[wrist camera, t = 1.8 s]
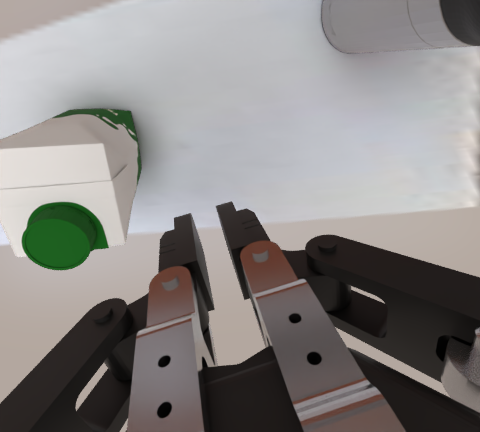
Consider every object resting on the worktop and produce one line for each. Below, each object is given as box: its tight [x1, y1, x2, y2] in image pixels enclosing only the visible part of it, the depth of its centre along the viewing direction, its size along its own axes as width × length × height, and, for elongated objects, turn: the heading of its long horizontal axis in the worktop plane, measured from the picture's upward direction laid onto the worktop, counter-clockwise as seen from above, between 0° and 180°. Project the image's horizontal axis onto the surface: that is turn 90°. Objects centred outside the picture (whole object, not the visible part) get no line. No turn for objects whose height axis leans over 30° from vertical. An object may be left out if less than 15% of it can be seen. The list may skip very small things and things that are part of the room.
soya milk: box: [0, 109, 141, 270], centre depth 27 cm, size 9×9×20 cm
